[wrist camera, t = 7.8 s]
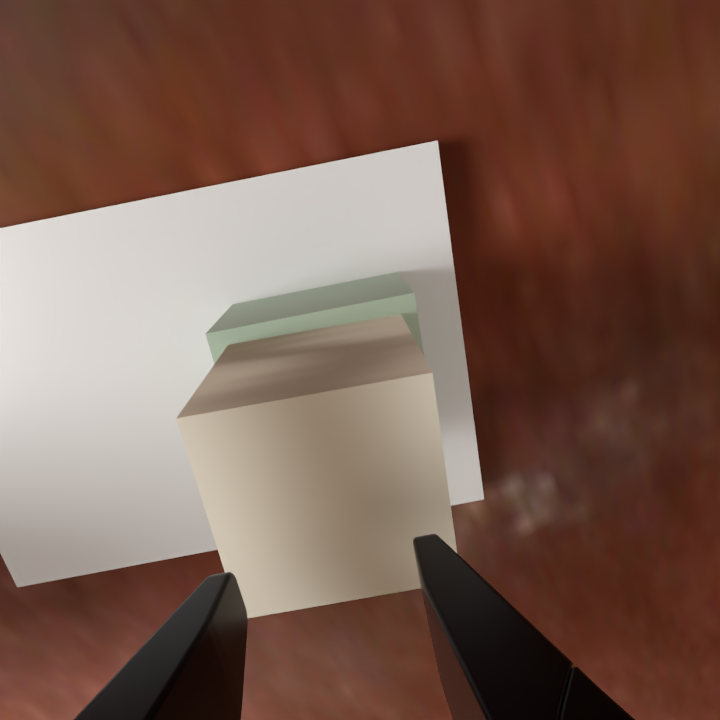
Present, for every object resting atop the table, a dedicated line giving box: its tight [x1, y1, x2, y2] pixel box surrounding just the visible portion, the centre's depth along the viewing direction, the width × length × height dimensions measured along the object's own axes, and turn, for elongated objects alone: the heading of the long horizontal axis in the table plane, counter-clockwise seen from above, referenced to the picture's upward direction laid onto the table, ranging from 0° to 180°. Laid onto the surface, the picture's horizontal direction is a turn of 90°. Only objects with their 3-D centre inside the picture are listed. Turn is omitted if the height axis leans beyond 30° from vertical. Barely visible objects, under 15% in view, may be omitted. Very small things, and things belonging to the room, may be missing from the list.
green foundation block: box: [206, 272, 424, 364], centre depth 17 cm, size 6×6×4 cm
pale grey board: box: [0, 141, 484, 587], centre depth 20 cm, size 20×14×1 cm
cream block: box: [176, 314, 457, 618], centre depth 13 cm, size 5×5×5 cm
